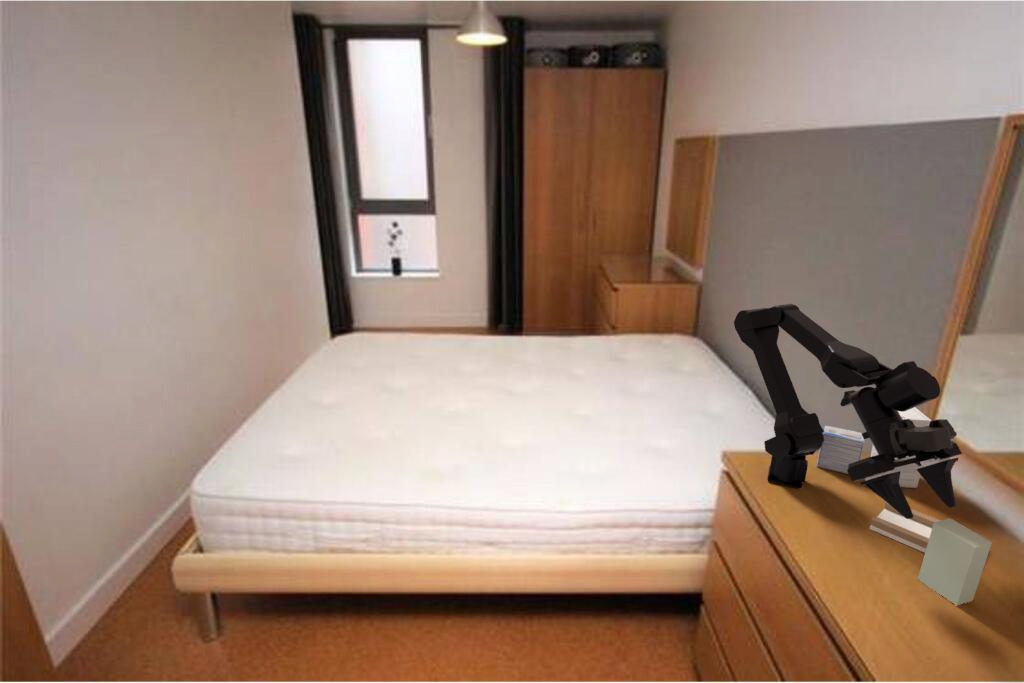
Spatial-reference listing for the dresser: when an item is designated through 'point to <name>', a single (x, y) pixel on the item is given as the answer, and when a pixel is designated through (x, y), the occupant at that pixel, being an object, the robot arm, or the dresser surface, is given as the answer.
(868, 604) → the dresser surface
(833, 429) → the medicine box
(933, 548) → the door panel
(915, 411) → the skincare box
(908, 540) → the track
